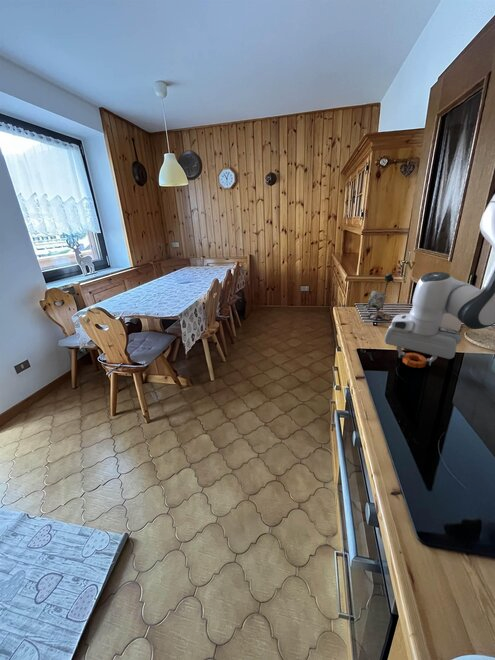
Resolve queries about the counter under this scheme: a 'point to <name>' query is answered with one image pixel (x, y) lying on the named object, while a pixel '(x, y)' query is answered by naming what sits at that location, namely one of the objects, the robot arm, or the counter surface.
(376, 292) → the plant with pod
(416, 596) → the counter surface
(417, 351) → the spindle
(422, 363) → the orange ring
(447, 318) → the medicine bottle
